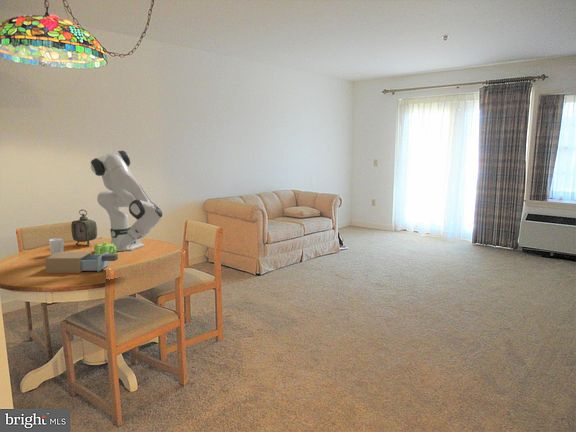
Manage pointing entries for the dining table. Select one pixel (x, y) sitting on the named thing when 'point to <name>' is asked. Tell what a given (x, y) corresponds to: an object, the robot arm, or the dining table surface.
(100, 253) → the teapot
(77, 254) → the sleeve
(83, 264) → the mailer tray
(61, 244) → the white cup
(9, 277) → the dining table surface
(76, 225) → the tabletop clock
